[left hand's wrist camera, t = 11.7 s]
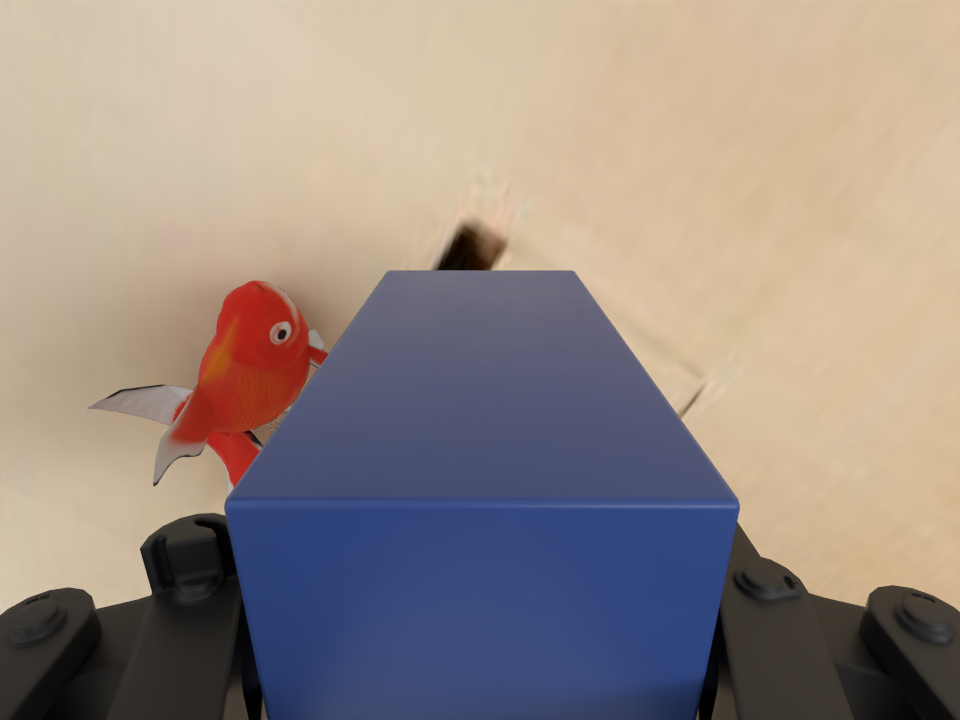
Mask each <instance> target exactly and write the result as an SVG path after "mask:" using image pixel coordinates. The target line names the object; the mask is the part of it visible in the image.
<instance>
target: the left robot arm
mask: <svg viewBox="0 0 960 720" xmlns="http://www.w3.org/2000/svg"><path fill="white" fill-rule="evenodd" d="M140 551H141V554H142V558H143V562H144V565H145V569H146V572H147V576H148V579H149V583H150V587H151V590H152V595H151V596H148V597H144V598H141V599H138V600H134V601H129V602H125V603H121V604H116V605H112V606H108V607H103V608H99V609H96V608H95V605H94V602H93V599H92V596H90V595H89V594H88V593H87V592H86V591H84V590H82V589H75V588H62V589H55V590H49V591H46V592H44V593H41V594H38V595H35V596H32V597H29V598H27V599H25V600H24V601H22V602H20V603H18V604H16V605H15V606H13V607H11V608H9V609H7V610H6V611H5V612H4V613H3V614H1V615H0V720H267V715H266V710H265V705H264V700H263V695H262V690H261V686H260V681H259V676H258V671H257V666H256V661H255V656H254V651H253V646H252V641H251V637H250V632H249V627H248V622H247V617H246V612H245V607H244V602H243V597H242V592H241V588H240V583H239V578H238V573H237V568H236V563H235V558H234V553H233V548H232V543H231V539H230V534H229V529H228V524H227V519H226V516H224V515H220V514H216V513H207V514H195V515H191V516H188V517H184V518H180V519H178V520H175V521H173V522H171V523H169V524H167V525H165V526H162V527H161V528H160V529H158V530H157V531H156V532H154V533H153V534H152V535H150V536H149V537H148V538H147V540H146V541H145V542H144V544H143V545H142V547H141V548H140ZM696 720H960V612H959V611H958V610H957V609H955V608H954V607H953V606H951V605H949V604H947V603H945V602H944V601H942V600H940V599H938V598H936V597H934V596H932V595H930V594H927V593H924V592H921V591H918V590H915V589H913V588H907V587H900V586H893V585H892V586H885V587H878V588H877V589H875V590H874V591H873V592H872V593H870V594H869V597H868V600H867V603H866V606H865V607H862V606H858V605H854V604H849V603H845V602H841V601H836V600H832V599H828V598H823V597H820V596H817V595H813V594H810V593H808V591H807V590H806V588H805V587H804V585H803V583H802V582H801V580H800V579H799V578H798V577H797V576H795V575H794V574H793V573H792V572H791V571H789V570H788V569H787V568H785V567H783V566H781V565H780V564H778V563H776V562H774V561H772V560H770V559H766V558H763V557H760V555H759V554H758V552H757V551H756V549H755V548H754V546H753V545H752V543H751V542H750V540H749V539H748V537H747V536H746V534H745V533H744V531H743V530H742V528H741V527H740V525H739V524H738V522H737V524H736V529H735V534H734V538H733V543H732V548H731V553H730V558H729V563H728V567H727V572H726V577H725V582H724V587H723V592H722V596H721V601H720V606H719V611H718V616H717V620H716V625H715V630H714V635H713V640H712V645H711V649H710V654H709V659H708V664H707V669H706V674H705V678H704V683H703V688H702V693H701V698H700V703H699V707H698V712H697V717H696Z"/></svg>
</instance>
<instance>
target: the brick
mask: <svg viewBox="0 0 960 720" xmlns="http://www.w3.org/2000/svg"><path fill="white" fill-rule="evenodd" d="M224 509H225V514H226V519H227V524H228V529H229V534H230V539H231V543H232V548H233V553H234V558H235V563H236V568H237V573H238V578H239V583H240V588H241V592H242V597H243V602H244V607H245V612H246V617H247V622H248V627H249V632H250V637H251V641H252V646H253V651H254V656H255V661H256V666H257V671H258V676H259V681H260V686H261V690H262V695H263V700H264V705H265V710H266V715H267V720H696V717H697V712H698V707H699V703H700V698H701V693H702V688H703V683H704V678H705V674H706V669H707V664H708V659H709V654H710V649H711V645H712V640H713V635H714V630H715V625H716V620H717V616H718V611H719V606H720V601H721V596H722V592H723V587H724V582H725V577H726V572H727V567H728V563H729V558H730V553H731V548H732V543H733V538H734V534H735V529H736V524H737V519H738V514H739V509H740V505H739V501H738V498H737V497H736V496H735V494H734V493H733V491H732V490H731V489H730V487H729V486H728V484H727V483H726V482H725V480H724V479H723V478H722V476H721V475H720V473H719V472H718V471H717V469H716V468H715V466H714V465H713V464H712V462H711V461H710V459H709V458H708V457H707V455H706V454H705V452H704V451H703V450H702V448H701V447H700V446H699V444H698V443H697V441H696V440H695V439H694V437H693V436H692V434H691V433H690V432H689V430H688V429H687V427H686V426H685V425H684V423H683V422H682V421H681V419H680V418H679V416H678V415H677V414H676V412H675V411H674V409H673V408H672V407H671V405H670V404H669V402H668V401H667V400H666V398H665V397H664V395H663V394H662V393H661V391H660V390H659V389H658V387H657V386H656V384H655V383H654V382H653V380H652V379H651V377H650V376H649V375H648V373H647V372H646V370H645V369H644V368H643V366H642V365H641V364H640V362H639V361H638V359H637V358H636V357H635V355H634V354H633V352H632V351H631V350H630V348H629V347H628V345H627V344H626V343H625V341H624V340H623V338H622V337H621V336H620V334H619V333H618V332H617V330H616V329H615V327H614V326H613V325H612V323H611V322H610V320H609V319H608V318H607V316H606V315H605V313H604V312H603V311H602V309H601V308H600V307H599V305H598V304H597V302H596V301H595V300H594V298H593V297H592V295H591V294H590V293H589V291H588V290H587V288H586V287H585V286H584V284H583V283H582V281H581V280H580V279H579V277H578V276H577V275H576V273H575V272H574V271H387V273H386V274H385V275H384V277H383V278H382V280H381V281H380V282H379V284H378V285H377V287H376V288H375V289H374V291H373V292H372V294H371V295H370V297H369V298H368V299H367V301H366V302H365V304H364V305H363V306H362V308H361V309H360V311H359V312H358V313H357V315H356V316H355V318H354V319H353V321H352V322H351V323H350V325H349V326H348V328H347V329H346V330H345V332H344V333H343V335H342V336H341V337H340V339H339V340H338V342H337V343H336V345H335V346H334V347H333V349H332V350H331V352H330V353H329V354H328V356H327V357H326V359H325V360H324V361H323V363H322V364H321V366H320V367H319V369H318V370H317V371H316V373H315V374H314V376H313V377H312V378H311V380H310V381H309V383H308V384H307V385H306V387H305V388H304V390H303V391H302V393H301V394H300V395H299V397H298V398H297V400H296V401H295V402H294V404H293V405H292V407H291V408H290V409H289V411H288V412H287V414H286V415H285V417H284V418H283V419H282V421H281V422H280V424H279V425H278V426H277V428H276V429H275V431H274V432H273V433H272V435H271V436H270V438H269V439H268V441H267V442H266V443H265V445H264V446H263V448H262V449H261V450H260V452H259V453H258V455H257V456H256V457H255V459H254V460H253V462H252V463H251V465H250V466H249V467H248V469H247V470H246V472H245V473H244V474H243V476H242V477H241V479H240V480H239V481H238V483H237V484H236V486H235V487H234V489H233V490H232V491H231V493H230V494H229V496H228V497H227V498H226V501H225V505H224Z"/></svg>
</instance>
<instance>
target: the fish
mask: <svg viewBox="0 0 960 720" xmlns="http://www.w3.org/2000/svg"><path fill="white" fill-rule="evenodd" d="M216 333H217V334H216V336H215V337H214V339H213V340H212V342H211V343H210V345H209V346H208V348H207V350H206V353H205V355H204V357H203V359H202V362H201V365H200V370H199V378H198V385H197V386H196V388H195V389H194V391H193V390H189V389H185V388H181V387H176V386H169V385H155V386H147V387H139V388H131V389H123V390H119V391H118V392H116V393H114V394H112V395H110V396H109V397H107V398H105V399H103V400H101V401H100V402H98V403H96V404H94V405H92V406H90V407H89V408H88V409H102V410H108V411H114V412H120V413H125V414H130V415H134V416H139V417H143V418H147V419H150V420H154V421H157V422H160V423H163V424H167V425H170V426H171V427H170V428H169V429H168V431H167V432H166V433H165V434H164V436H163V437H162V438H161V441H160V445H159V448H158V452H157V456H156V462H155V471H154V481H153V485H154V486H155V485H157V484H158V482H159V480H160V479H161V477H162V476H163V474H164V473H165V471H166V470H167V468H168V467H169V466H170V465H171V464H172V462H173V461H175V460H176V459H178V458H180V457H195V456H198V455H200V454H201V452H202V451H203V449H204V446H205V444H206V443H207V444H208V445H209V446H210V447H211V448H212V449H213V450H214V451H215V452H216V453H217V454H218V455H219V457H220V458H221V460H222V462H223V464H224V467H225V470H226V473H227V480H228V491H227V497H228V496H229V494H230V493H231V491H232V490H233V489H234V487H235V486H236V484H237V483H238V481H239V480H240V479H241V477H242V476H243V474H244V473H245V472H246V470H247V469H248V467H249V466H250V465H251V463H252V462H253V460H254V459H255V457H256V456H257V455H258V453H259V452H260V450H261V449H262V448H263V446H262V445H261V443H260V442H259V441H258V439H257V438H256V437H255V435H254V434H253V433H252V432H251V431H250V430H252V429H254V428H257V427H259V426H262V425H264V424H266V423H269V422H271V421H272V420H273V419H275V418H276V417H277V416H279V415H280V414H281V413H284V412H288V411H289V409H290V408H291V407H292V406H290V405H291V404H292V403H293V402H294V401H295V399H296V398H297V397H298V395H299V393H300V391H301V389H302V387H303V386H304V384H305V382H306V379H307V376H308V373H309V366H310V363H311V364H312V365H314V366H315V367H317V368H319V367H320V366H321V364H322V363H323V361H324V360H325V359H326V357H327V356H328V353H327V352H324V351H322V350H321V349H322V348H323V347H324V342H323V340H322V338H321V337H320V335H319V334H318V332H317V331H316V330H315V329H312V330H310V331H308V328H307V325H306V322H305V319H304V317H303V316H302V315H301V313H300V311H299V310H298V308H297V307H296V306H295V304H294V303H293V302H292V301H291V300H290V298H289V297H288V296H287V295H286V294H285V293H284V292H283V291H282V290H281V289H279V288H277V287H275V286H273V285H271V284H269V283H267V282H263V281H251V282H248V283H246V284H245V285H243V286H241V287H239V288H236V289H234V290H232V291H231V292H229V293H228V294H227V296H226V297H225V300H224V303H223V307H222V311H221V313H220V315H219V318H218V321H217V331H216Z"/></svg>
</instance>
